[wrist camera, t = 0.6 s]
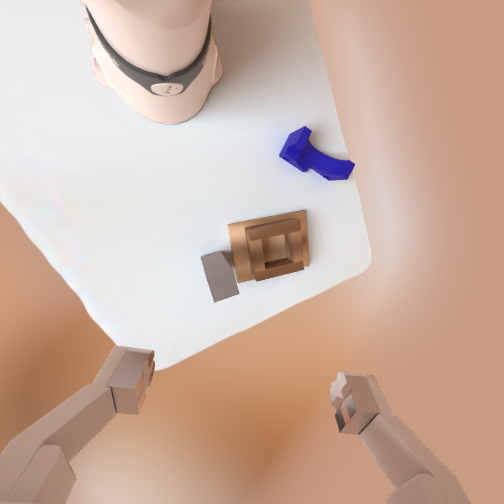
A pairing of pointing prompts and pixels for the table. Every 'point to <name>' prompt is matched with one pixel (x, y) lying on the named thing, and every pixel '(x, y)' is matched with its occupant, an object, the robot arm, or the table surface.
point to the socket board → (269, 246)
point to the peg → (219, 276)
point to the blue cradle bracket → (313, 157)
